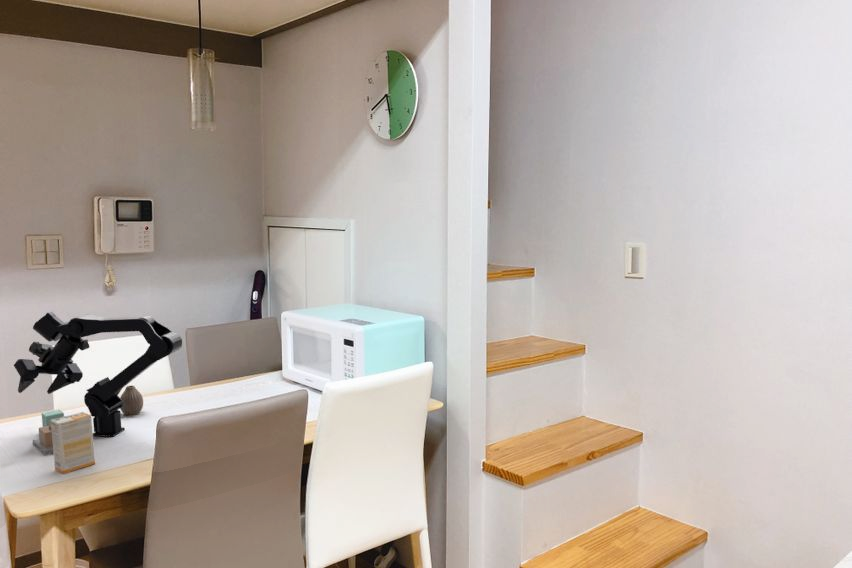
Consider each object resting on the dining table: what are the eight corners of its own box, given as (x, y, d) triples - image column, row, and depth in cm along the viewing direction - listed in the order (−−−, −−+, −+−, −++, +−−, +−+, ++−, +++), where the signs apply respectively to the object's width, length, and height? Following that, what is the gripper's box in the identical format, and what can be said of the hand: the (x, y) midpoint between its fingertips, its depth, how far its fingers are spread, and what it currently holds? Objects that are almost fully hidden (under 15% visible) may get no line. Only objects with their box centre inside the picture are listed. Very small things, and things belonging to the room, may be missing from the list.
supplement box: (86, 460, 181) (83, 411, 179) (95, 464, 177) (92, 414, 176) (53, 469, 174) (49, 419, 173) (62, 474, 171) (58, 422, 170)
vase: (115, 416, 217) (113, 388, 216) (129, 409, 223) (127, 382, 222) (134, 417, 215) (132, 390, 214) (148, 411, 222) (146, 384, 221)
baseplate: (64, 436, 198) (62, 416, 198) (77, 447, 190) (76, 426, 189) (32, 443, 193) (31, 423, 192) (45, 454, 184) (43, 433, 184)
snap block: (60, 429, 205) (58, 409, 204) (65, 432, 202) (63, 412, 201) (43, 432, 202) (41, 412, 201) (47, 436, 199) (46, 416, 198)
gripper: (78, 336, 211) (50, 375, 213) (21, 329, 194) (-9, 371, 196) (95, 361, 206) (66, 400, 208) (38, 356, 189) (7, 399, 192)
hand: (33, 392), depth 201 cm, fingers open, 9 cm apart
